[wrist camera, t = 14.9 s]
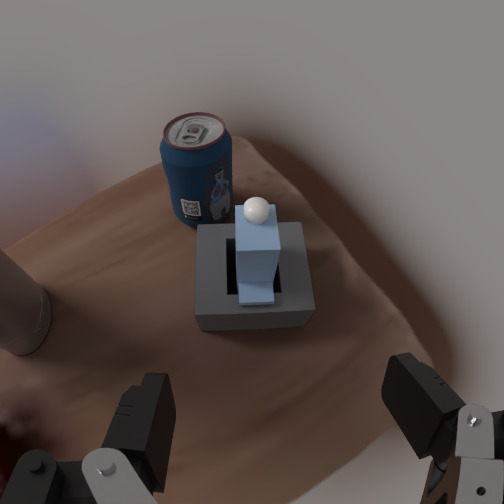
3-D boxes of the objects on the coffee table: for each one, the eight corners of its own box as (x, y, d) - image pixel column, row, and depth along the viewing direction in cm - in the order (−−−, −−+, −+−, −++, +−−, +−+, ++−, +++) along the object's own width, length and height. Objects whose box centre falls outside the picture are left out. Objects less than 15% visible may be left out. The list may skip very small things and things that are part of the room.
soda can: (186, 185, 38) (173, 106, 27) (238, 193, 37) (239, 112, 27) (167, 227, 34) (143, 148, 24) (224, 238, 34) (220, 156, 23)
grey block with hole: (201, 330, 28) (194, 314, 24) (202, 250, 33) (197, 224, 29) (304, 326, 29) (315, 309, 25) (293, 248, 33) (301, 222, 29)
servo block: (269, 322, 29) (285, 265, 19) (238, 323, 29) (237, 267, 19) (263, 254, 33) (273, 178, 23) (235, 255, 33) (234, 179, 23)
